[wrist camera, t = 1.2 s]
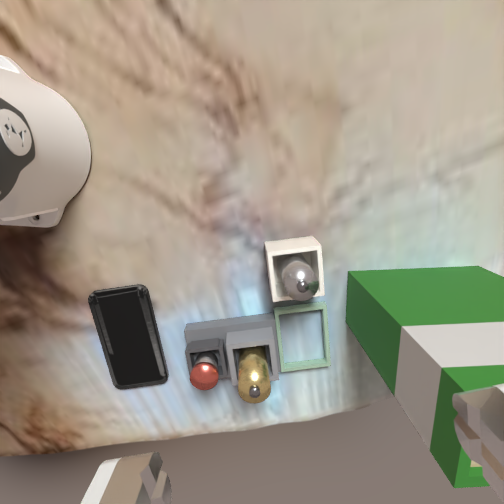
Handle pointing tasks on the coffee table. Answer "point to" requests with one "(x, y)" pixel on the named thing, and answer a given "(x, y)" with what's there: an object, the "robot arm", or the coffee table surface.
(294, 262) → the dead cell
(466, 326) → the hardback book
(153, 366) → the phone
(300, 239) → the white square bin
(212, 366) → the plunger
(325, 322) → the pale green rectangular frame
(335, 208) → the coffee table surface
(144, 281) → the coffee table surface
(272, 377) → the grey socket holder
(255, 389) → the cell
